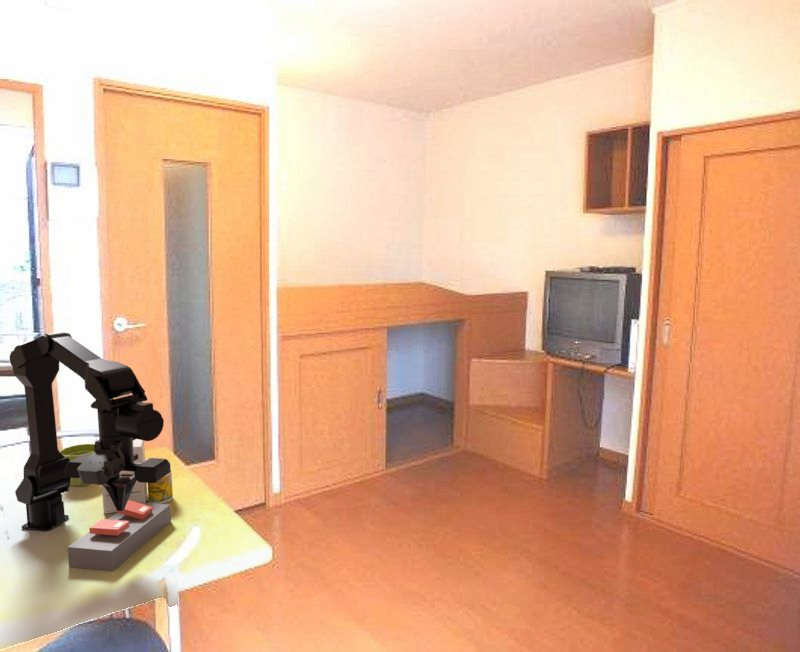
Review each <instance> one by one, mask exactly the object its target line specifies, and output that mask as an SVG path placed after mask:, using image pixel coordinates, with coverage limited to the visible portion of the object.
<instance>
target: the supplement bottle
mask: <svg viewBox="0 0 800 652" xmlns="http://www.w3.org/2000/svg"><path fill="white" fill-rule="evenodd" d="M172 475H173V474H172V471H171V472H170V473H168V474H167V475H165V476H164V477H163V478H161V479H160V480H158V481H157V482H154V483H147V497H148V503H156V504H167V503H169V502H170V501H172V500H173V497H174V495H173V494H174V493H173V492H174V491H173V478H172V477H173V476H172Z"/></svg>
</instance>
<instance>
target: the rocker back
mask: <svg viewBox="0 0 800 652" xmlns="http://www.w3.org/2000/svg"><path fill="white" fill-rule="evenodd" d="M152 509H153V507H152V506H148V505H145V504H141V503H138V502H134V501H131V500H128V501H127V504H126V506H125V509H124V510H123V511H117V509H116V512H115V513H121V514H124V515H127V516H131V517H134V518H138V519H141V520H142V519H144V518H145V517H146V516H148V515H149V514H150V513H152Z"/></svg>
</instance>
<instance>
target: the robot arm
mask: <svg viewBox="0 0 800 652" xmlns="http://www.w3.org/2000/svg"><path fill="white" fill-rule="evenodd" d="M9 363H10V365H11V366H12V370H13V371H12V372H13V376H15V377H16V379H17V380H18V381H19V382H20V383H21V384H22V385H23V387H24V394H25V405H26V413H27V414H26V416H27V423H28V425H27V426H28V434H29V435H28V436H29V442H30V443H29V444H30V445H29V446H30V455H29V457H28V459H27V461H26V462H25V464H24V466H23V479H22V480H21V482H20V483H19V484H18V486H17V488H16V489H15V492H14V493H15V496H16V500H17V502H19V503H22V504H24V505H25V508H26V509H25V510H26V511H25V512H26V523H23V524H22V525H21V529H22V530H23V529H24V530H35V531H49V530H51V529H53V528H55V527H56V526H58V525H59V524H61V523H62V522H64V521H66V520H67V519H69V514H65V503H64V501H63V494H64V493H67V492H69V491H70V486H71V485H70V481H71V478H81V481H82V483H83V484H87V485H89V484H91V485H97V486H101V487H102V486H104V487H105V489H106V490H107V492H108V493H109V495H110V497H111V499H112V501H113V503H114V505H115V507H116V509H117V511H123V510H124V509H125V506H126V504H127V501H128V499H129V496H130V494H131V491H132V489H133V487H134V485H135V483H136V481H138V482H143V483H147V484H148V483H154V482H157V481H158V480H160V479H161V478H163V477H164V476H165V475H167V474H168V473H170V472H171V473H172V470H171V463H170V461H169V460H168V459H167V458H158V457H150V458H148V459H147V460H146V459H145V462H143V463H134V461H135V460H137V459H138V454H134V449H133V440H135V439H139V440H144V442H151V441H154V440H156V439H157V438H158V437H159V436H160V434H161V433H162V431H163V428H164V426H165V425H164V423H165V422H164V421H165V420H164V417H163V416H162V414H161V412H159V411H158V410H156V409H154V404H153V402H148V397H147V395H146V391H145V389H144V388H143V386H142V385H141V383H140V381H139V379H138V377H137V376H136V374H135V373H134V370H133V369H132V368H131V367H130V366H128V365H127V364H126V365H125V364H124V363H121V362H119V361H115V360H114V361H113V360H106V359H104V358H102V357H100V356H98V354H96V353H94V352H93V351H91V350H90V349H88V348H87V347H86V346H84V345H83V344H81V343H79V342H78V341H77V340H75V339H74V338H73V337H72V335H71V334H70V333H69V332H65V331H59V332H50V333H44V334H43V335H40V336H39V337H38V338H35V339H34V340H30V341H29V342H26V343H23V344H19V345H16V346H15V347H14V348H13V350H12V351H11V352H10V353H9ZM60 363H61V364H62V365H64V366H65V367H66V368H68V369H69V370H71V371H72V372H74V373H75V374H76V375H77V376H79V378H80V377H81V378H82V380H83V381H84V388H85V390H86V391H87V392H88V393H89V394H90V395H91V396H92V397H93V398H94V399H95V400H94V401H93V402H92V403H91V404H90V408H91V409H96V410H97V423H98V427H97V428H98V440H95V441H94V443H93V444H94V452H93V454H83V455H81V456H79V457H77V458H75V459H73V460H71V461H70V460H69V458H68V457H66V458H65V457H64V456H63V455H62V454H61V452H60V451H61V450H59V444H58V435H57V434H58V433H57V421H56V412H55V403H54V392H53V382H54V381H55V379H56V378H57V375H58V373H59V371H60ZM146 401H147V402H146Z"/></svg>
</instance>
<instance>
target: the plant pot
mask: <svg viewBox="0 0 800 652" xmlns="http://www.w3.org/2000/svg"><path fill="white" fill-rule="evenodd" d="M94 444H95V443H81V444H75V445H74V444H73V445H71V446H66V447H64V448H63V449H62V448H61V450H59V451H60V452H61V454H62V455H63V456H64V457H65V458H66V457H68V458H69V460H70V461H71V460H73V459H75V458H77V457H79V456H81V455H83V454H93V452H94ZM86 485H88V484H83V483H82V481H81V478H71V481H70V486H74V487H81V486H86Z"/></svg>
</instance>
